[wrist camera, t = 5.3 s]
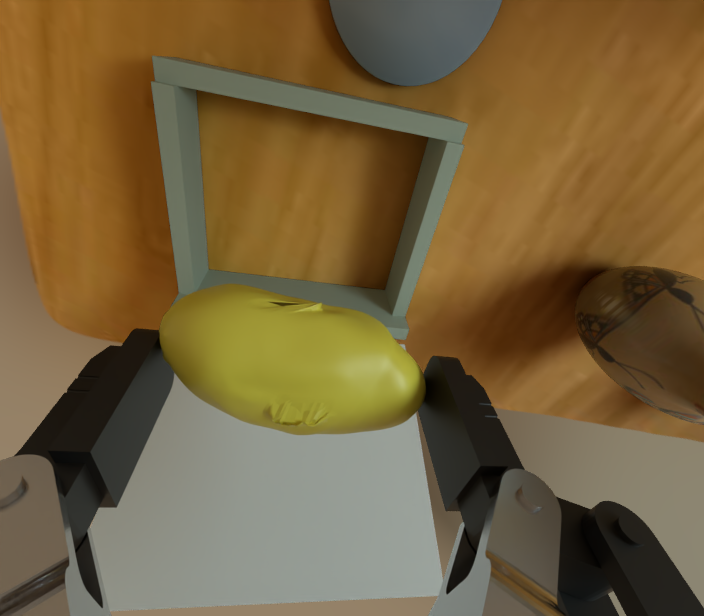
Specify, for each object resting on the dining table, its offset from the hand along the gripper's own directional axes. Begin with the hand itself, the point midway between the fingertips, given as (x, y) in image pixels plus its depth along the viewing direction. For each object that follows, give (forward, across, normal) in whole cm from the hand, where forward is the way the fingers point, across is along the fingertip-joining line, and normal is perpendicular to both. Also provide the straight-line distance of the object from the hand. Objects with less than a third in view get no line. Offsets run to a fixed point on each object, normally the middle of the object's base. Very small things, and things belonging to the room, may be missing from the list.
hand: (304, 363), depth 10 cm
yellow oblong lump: (+2, 0, 0) cm, 2 cm away
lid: (+4, 0, +10) cm, 10 cm away
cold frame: (+16, 0, +1) cm, 16 cm away
